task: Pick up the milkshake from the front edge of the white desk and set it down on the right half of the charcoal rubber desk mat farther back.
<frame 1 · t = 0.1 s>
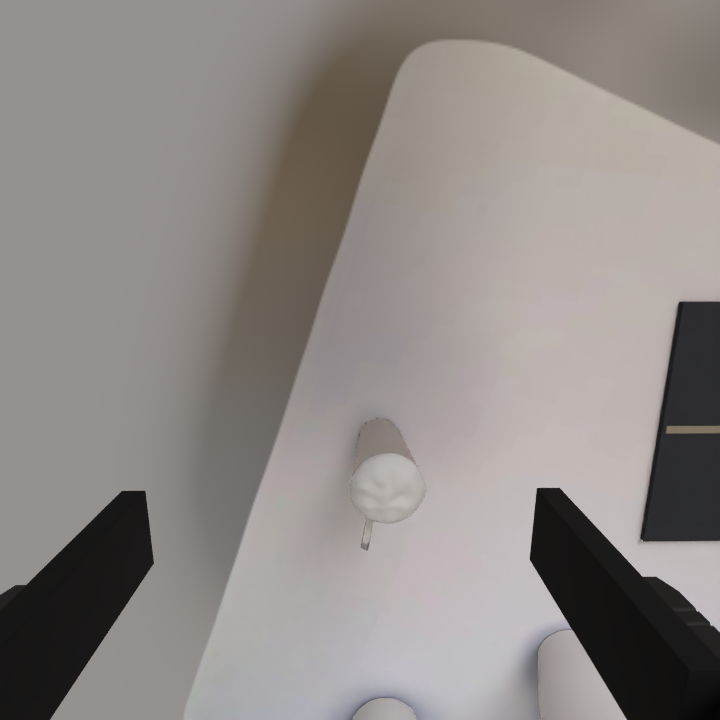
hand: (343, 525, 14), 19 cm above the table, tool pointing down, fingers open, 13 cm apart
milkshake: (376, 440, 34), on the table
mug: (559, 663, 39), on the table
cup: (384, 718, 40), on the table
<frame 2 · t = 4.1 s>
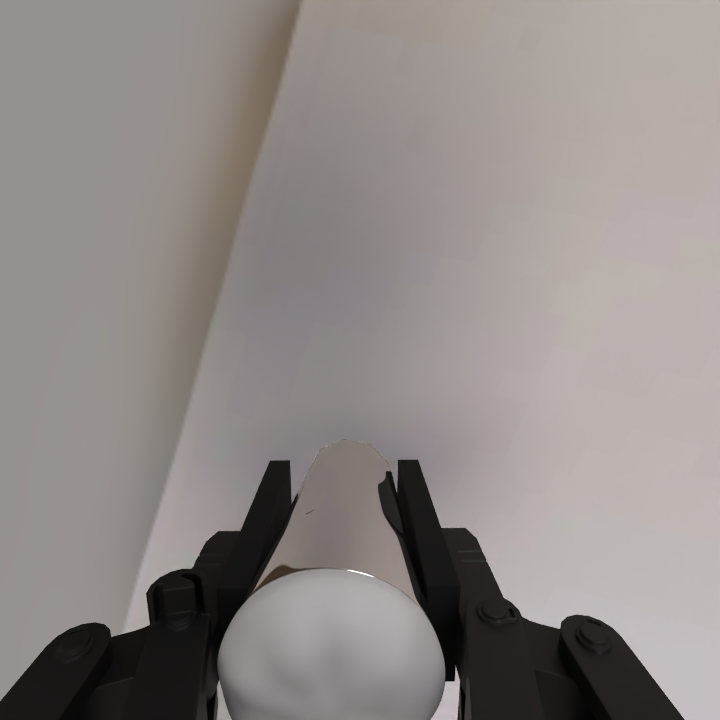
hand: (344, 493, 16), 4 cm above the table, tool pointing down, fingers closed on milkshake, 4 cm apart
milkshake: (345, 483, 17), point 3 cm above the table, touching gripper
when the fingers open (1 cm above the table, at t = 10.5 s): milkshake stays where it is, resting on desk mat.
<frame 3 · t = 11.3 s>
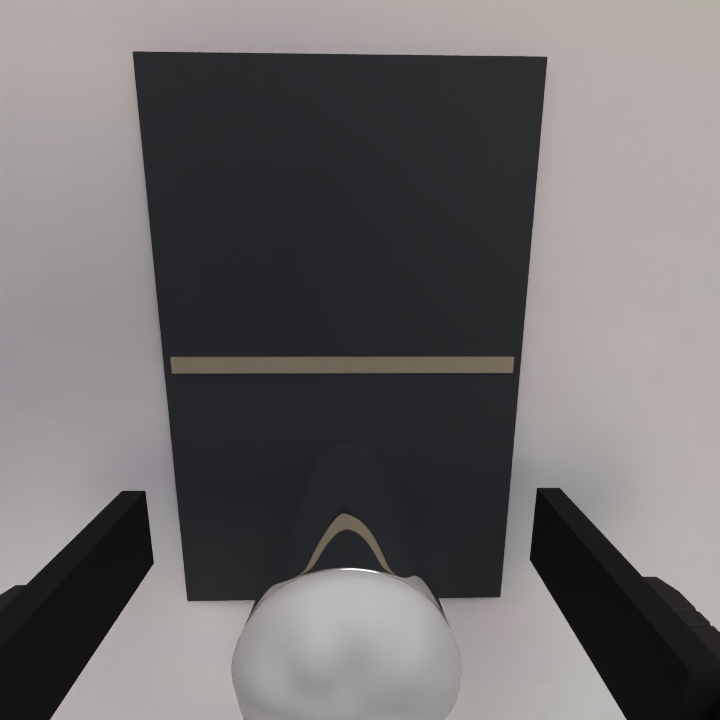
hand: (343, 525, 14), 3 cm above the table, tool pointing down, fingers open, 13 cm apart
milkshake: (344, 484, 17), resting on desk mat
desk mat: (343, 362, 16), on the table
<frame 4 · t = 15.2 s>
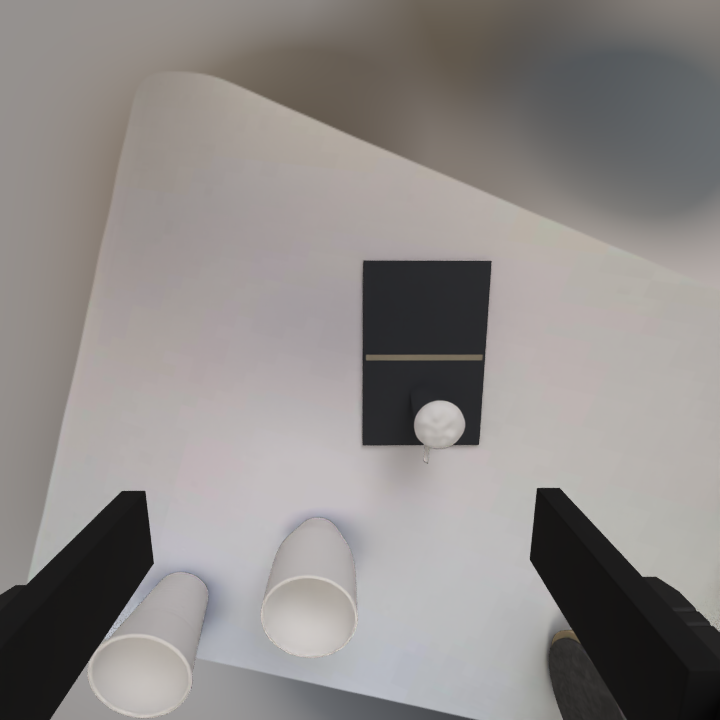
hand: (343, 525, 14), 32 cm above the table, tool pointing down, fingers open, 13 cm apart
milkshake: (422, 400, 46), resting on desk mat
desk lamp: (712, 584, 53), on the table
mug: (315, 545, 51), on the table
cup: (184, 590, 52), on the table
desk mat: (423, 356, 46), on the table
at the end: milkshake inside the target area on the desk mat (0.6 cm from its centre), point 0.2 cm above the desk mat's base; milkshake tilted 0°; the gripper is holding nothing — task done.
